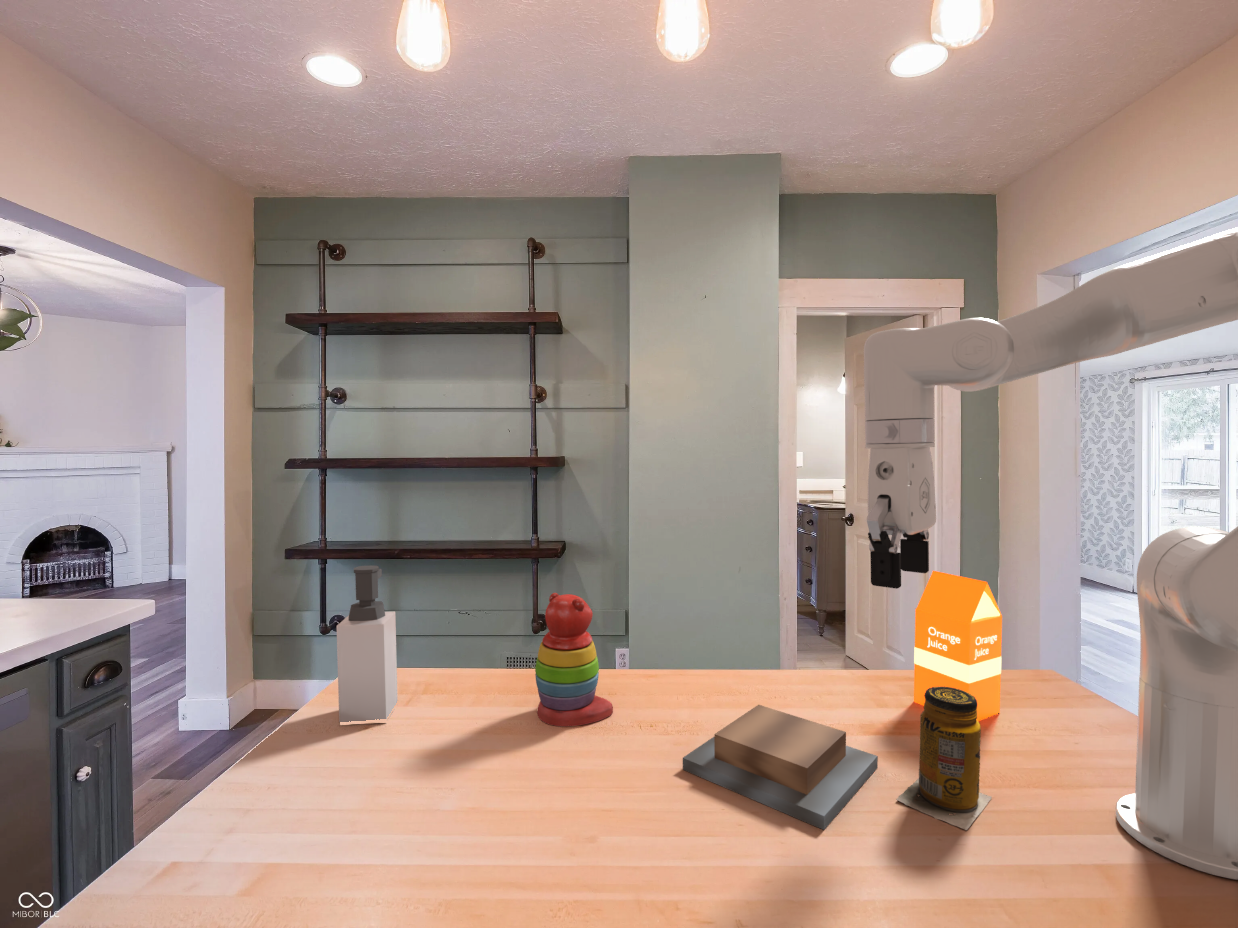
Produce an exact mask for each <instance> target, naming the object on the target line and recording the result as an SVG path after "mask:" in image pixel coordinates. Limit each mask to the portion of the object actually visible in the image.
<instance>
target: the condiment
mask: <svg viewBox="0 0 1238 928" xmlns="http://www.w3.org/2000/svg"><path fill="white" fill-rule="evenodd" d="M924 697H925V703H924V706H923V711H922V712H921V714H920V717H919V718H920V719H919V721H920V722H919V724H920V725H919V761H918V763H919V764H918V767H919V768H918V778H917V779H916V780H915V781H914V782H913V783H912V784H910V786H908V787H907V788H906V789H905V790H904V791H903V793H901V794H900V795H898V797H897V798H895V800H896V801H899V802H900V803H902V804H904V805H905V806H909V807H910V808H912V809H914V810H917V811H919V812H921V813H923V814H924V815H928V816H930V817H933V818H934V819H935V820H941V821H943V822H946V823H948V824H949V825H951V826H955V827H958V828H959V829H962V830H965V831H968V830H969V828H970V827H971V825H973V823H974V821H975V820H976V819H977V818H978V817H979V816H980V814H981V813H982V812H983V811H984V809H985V808H986V807H987V806H988V803H990V801H991V799H992V798H993V797H992V795H988V794H985V793H983V792H980V771H981V770H980V769H981V762H980V760H981V737H982V733H981V732H982V729H981V724H980V721H977V717H978V713H977V706H978V704H977V700H976V699H975V697H974V696H973V695H971V694H970V693H968V692H966V691H963V690H960V689H957V688H952V687H945V686H940V687H939V686H938V687H937V686H936V687H932V688H929V689H927V690H926V693H925V695H924Z"/></svg>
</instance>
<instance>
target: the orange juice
mask: <svg viewBox="0 0 1238 928" xmlns="http://www.w3.org/2000/svg"><path fill="white" fill-rule="evenodd" d="M914 609H915V611H914V612H915V614H914V616H915V620H914V622H915V623H914V648H913V650H914V651H913V652H914V653H913V664H914V667H913V670H914V672H913V673H914V674H913V678H914V679H913V681H914V682H913V702H914V703H916V704H919V705H920V706H923V707H924V703H925V697H924V695H925V693H926V690H927V689H929V688H932V687H936V686H937V687H938V686H939V687H940V686H945V687H952V688H957V689H960V690H963V691H966V692H968V693H970V694H971V695H973V696H974V697H975V699H976V700H977V704H978V706H977V713H978V717H977V721H978V722H980V721H983V720H986V719H989V718H991V716H992V717H994V716H993V715H995V716H997V715H999V714H998V713H1000V714H1001V684H1002V683H1001V678H1002V677H1001V676H1002V675H1001V674H1002V657H1003V656H1002V643H1003V642H1002V638H1003V636H1002V635H1003V615H1002V612H1001V610H1000V608H999V605H998V603H997V601H996V599H995V597H994V595H993V593H992V590H991V588H990V585H989V584H988V581H984V580H980V579H975V578H970V577H965V576H960V575H956V574H952V573H951V574H950V573H946V572H941V571H938V570H932V571H931V574H930V577H929V579H928V581H927V583H926V586H925V588H924V591H923V593H922V595H921V597H920V600H919V601H918V604H917V607H916V608H914ZM996 714H997V715H996ZM988 717H989V718H988Z"/></svg>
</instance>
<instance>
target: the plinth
mask: <svg viewBox="0 0 1238 928" xmlns="http://www.w3.org/2000/svg"><path fill="white" fill-rule="evenodd" d="M878 757H879V756H878V755H876V754H873V753H870V752H867V751H864V750H861V749H859V748H855V747H851V746H850V745H849V746H848V745H847V731H846V730H845V731H844V730H841V729H838V728H836V727H835V728H834V727H832V726H829V725H825V724H822V723H819V722H816V721H813V720H809V719H806V718H803V717H799V716H797V715H793V714H790V713H787V712H783V711H780V710H778V709H774V708H771V707H768V706H765V705H761V704H757V705H755V706H754V707H753V708H751V709H750V710H748V711H747V712H745V713H744V714H743V715H741V716H740V717H738V718H737V719H735V720H734V721H732V722H730V723H729V724H727V725H726V726H725V727H723V728H722V729H720V730H719V731H717V732H716V733H714V735H713V737H711V738H710V739H708V740H707V741H705V742H704V743H702V744H701V745H699V746H698V747H696V748H695V749H693V750H692V751H690V752H689V753H688V754H685V755H684V756H683V757H682V770H683V771H685V772H687V773H690V774H692V775H694V776H697V777H699V778H702V779H704V780H706V781H709V782H711V783H713V784H716V785H718V786H720V787H723V788H725V789H727V790H730V791H732V792H734V793H737V794H739V795H741V796H743V797H746V798H748V799H750V800H753V801H754V802H757V803H760V804H762V805H764V806H766V807H769V808H772V809H774V810H776V811H778V812H780V813H784V814H785V815H787V816H790V817H792V818H795V819H797V820H799V821H802V822H804V823H807V824H809V825H812V826H813V827H816V828H818V829H821V830H822V831H823V830H824V831H825V830H826V829H827V828H828V826H829V825H830V824H831V822H833V820H834V819H835V818H836V817H837V815H838V814H839V813H840V812H841V811H842V810H843V809H844V808H845V807H846V805H847V804H848V803H849V802H850V801H851V799H852V798H853V797H854V796H855V795H856V794H857V792H858V791H859V790H860V789H861V788H862V787H863V785H864V784H865V783H866V782H867V781H868V780H869V778H870V777H871V776H872V775H873V774H874V772H876V770H877V769H878V765H879V764H878V762H879V761H878V759H879V758H878Z"/></svg>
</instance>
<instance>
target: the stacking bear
mask: <svg viewBox="0 0 1238 928" xmlns="http://www.w3.org/2000/svg"><path fill="white" fill-rule="evenodd" d="M548 601H549V603H548V604H547V607H546V608H545V613H544V614H545V615H544V617H545V618H544V619H545V624H546V626H547V629H548V632H547V633H546V634H544V636H543V638H542V640H541V642H540V645H539V647H538V652H537V658H536V661H535V669H534V671H535V674H534V675H535V683H536V687H537V693H538V697H539V703H538V706H537V711H536V714H537V717H538V719H539V720H540V721H541V722H543V723H545V724H547V725H551V726H555V727H562V728H563V727H578V726H582V725H588V724H593V723H596V722H599V721H602V720H604V719H606V718H608V717H610V716H612V715H613V714H614V706H613V704H612V702H611V701H610V700H608V699H606V698H605V697H601V696H598V695H596V691H597V686H598V683H599V682H598V681H599V672H600V671H599V670H600V665H599V660H598V656H597V650H596V646H595V643H594V640H593V637H592V635H591V634H590V632H588V631H587V630H588V628H589V627H590V625H591V622H592V620H593V614H594V613H593V611H592V609H591V608H590V605H589V604H588V603H587V602H586V601H585V599H584V598H583V597H580V596H578V595H575V594H572V593H571V594H570V593H569V594H566V593H565V594H559V593H557V592H553V593H551V594H550V596H549V598H548Z"/></svg>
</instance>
